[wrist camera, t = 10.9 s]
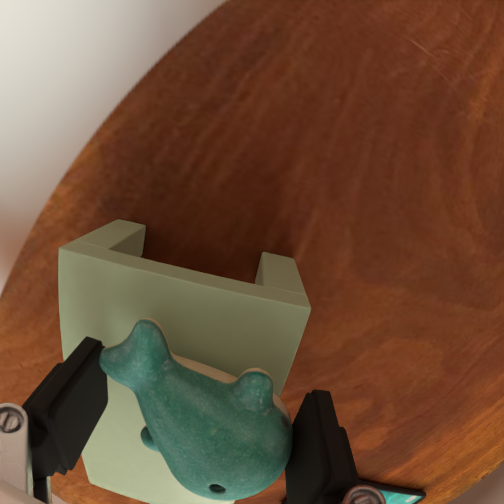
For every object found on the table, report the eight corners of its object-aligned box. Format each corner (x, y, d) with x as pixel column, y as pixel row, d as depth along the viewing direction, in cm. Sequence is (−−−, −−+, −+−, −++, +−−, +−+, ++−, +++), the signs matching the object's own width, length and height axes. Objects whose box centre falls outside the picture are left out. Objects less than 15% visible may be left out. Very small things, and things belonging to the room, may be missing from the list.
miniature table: (118, 218, 15) (57, 247, 10) (294, 258, 15) (312, 308, 10) (114, 429, 19) (89, 483, 14) (231, 459, 20) (225, 519, 14)
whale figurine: (210, 461, 12) (199, 528, 8) (87, 352, 11) (38, 415, 7) (323, 411, 11) (339, 489, 7) (197, 269, 9) (161, 333, 6)
